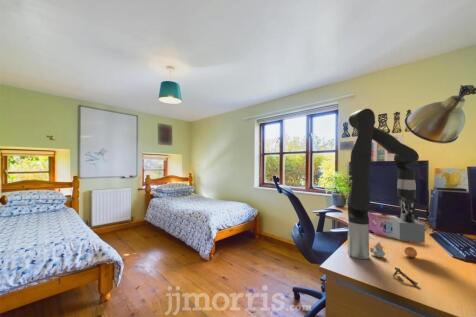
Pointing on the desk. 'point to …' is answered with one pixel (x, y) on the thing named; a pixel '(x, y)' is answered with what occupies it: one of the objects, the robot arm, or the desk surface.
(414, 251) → the ball
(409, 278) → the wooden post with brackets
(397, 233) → the grey rectangular box
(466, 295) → the desk surface
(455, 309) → the desk surface
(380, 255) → the pale blue irregular piece
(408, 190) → the robot arm
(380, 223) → the gum box
